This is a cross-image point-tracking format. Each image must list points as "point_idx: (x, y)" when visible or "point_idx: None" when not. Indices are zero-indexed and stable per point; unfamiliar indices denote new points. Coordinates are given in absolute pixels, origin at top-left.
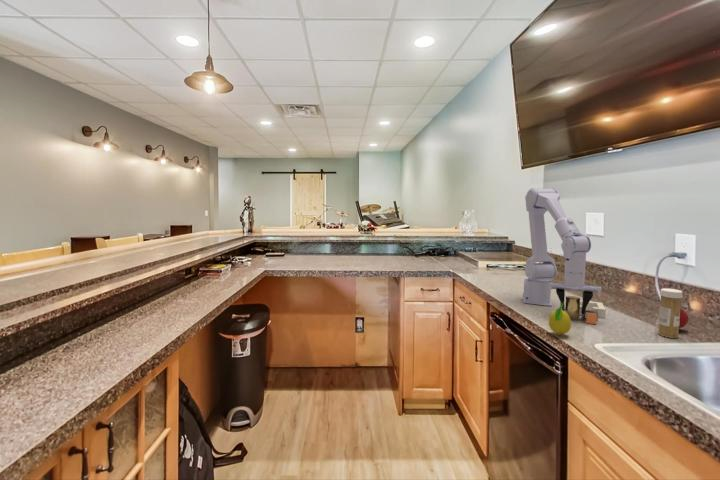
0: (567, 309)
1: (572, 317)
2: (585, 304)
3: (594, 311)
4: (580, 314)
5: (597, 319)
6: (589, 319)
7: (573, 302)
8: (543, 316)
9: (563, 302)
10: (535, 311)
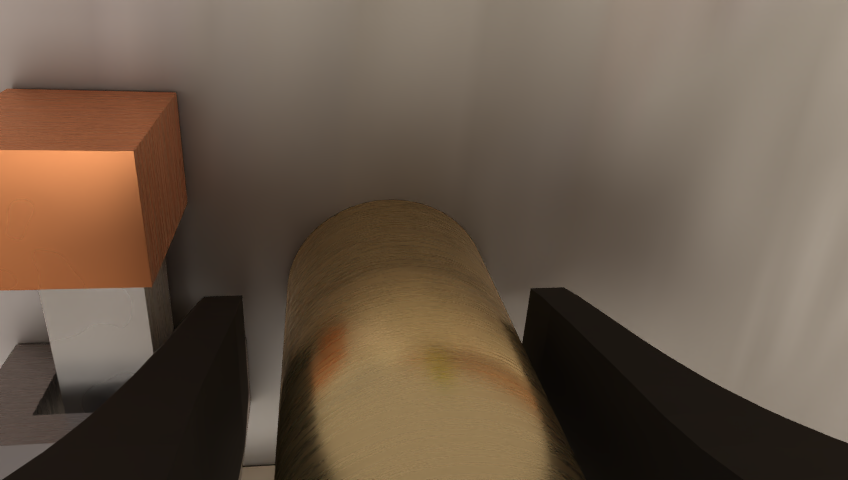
0: (501, 311)
1: (393, 217)
2: (136, 414)
3: (16, 456)
4: (262, 474)
5: (14, 354)
6: (105, 114)
7: (435, 404)
8: (794, 168)
9: (647, 377)
10: (831, 355)
